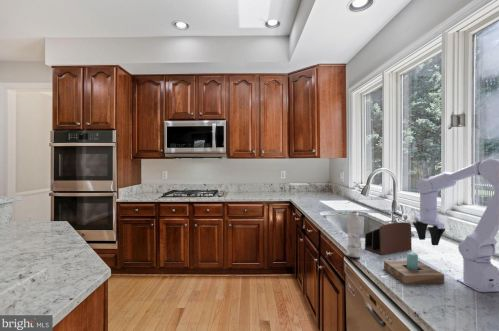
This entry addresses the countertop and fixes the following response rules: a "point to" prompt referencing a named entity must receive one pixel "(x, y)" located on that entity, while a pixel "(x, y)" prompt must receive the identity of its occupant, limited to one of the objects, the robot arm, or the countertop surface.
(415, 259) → the peg
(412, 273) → the socket block
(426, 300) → the countertop surface
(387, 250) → the letter holder
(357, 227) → the plastic bottle
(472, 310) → the countertop surface
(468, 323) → the countertop surface
